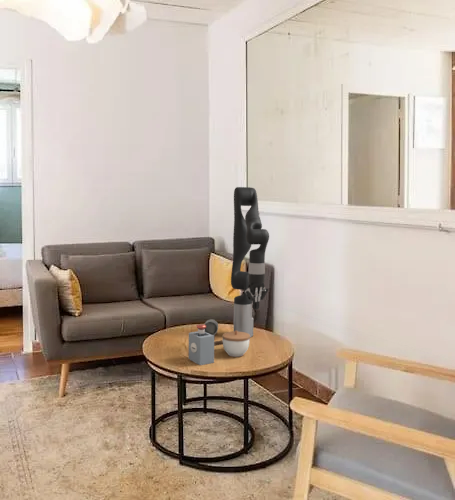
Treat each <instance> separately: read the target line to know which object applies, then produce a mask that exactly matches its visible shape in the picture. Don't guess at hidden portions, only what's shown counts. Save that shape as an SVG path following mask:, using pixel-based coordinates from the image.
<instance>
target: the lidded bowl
mask: <svg viewBox="0 0 455 500" xmlns="http://www.w3.org/2000/svg"><path fill="white" fill-rule="evenodd" d="M250 338H251V337H250V335H249V334H248V333H245V332H239V331H234V330H233V331H226V332H224V333H223V334H222V336H221V339H222V340H223V344H222V347H223V349H224V352H226V353H227V355H228V356H229V357H234V358H235V357H238V358H239V357H242V356H244V354H246V352H247V351H248V349H249V347H250Z"/></svg>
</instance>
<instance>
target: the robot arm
mask: <svg viewBox="0 0 455 500" xmlns="http://www.w3.org/2000/svg"><path fill="white" fill-rule="evenodd" d="M257 193H258V192H257V191H256V189H255V188H254V187H249V186H248V187H247V186H246V187H245V186H236V187H235V189H234V190H233V215H234V216H233V218H234V219H233V238H232V239H233V243H232V247H233V250H232V265H231V276H230V284H231V288H232V289H233V290H239V291H240V290H242V291H243V293H242V294H241V295H236V296H235V297H234V298H233V331H239V332H245V333H248V334H249V335H250V338H251V337H253V336H254V317H253V310H255V311H256V310H259V309H260V302H261V301H263V300H264V298H265V297H266V296H267V293H268V292H269V288H267V287H265V286H266V285H265V281H266V279H265V278H266V275H265V274H266V266H265V265H266V264H265V262H266V261H265V258H266V257H265V256H266V250H267V247H268V243H269V239H270V233H269V231H268V230H267V229H265V228H262V227H263V225H262V220H261V217H260V213H259V202H258V194H257ZM242 207H250V208H249V209H248V210H247V211H246V214H245V216H244V215H243V211H242ZM252 245H253V246H254V245H259V247H258V248H255V249H251V247H252ZM248 253H249V255H248V256H249V259H248V261H249V263H248V271H242V270H241V269H242V263H243V261H244V259H245V257H246V256H247V254H248Z"/></svg>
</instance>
